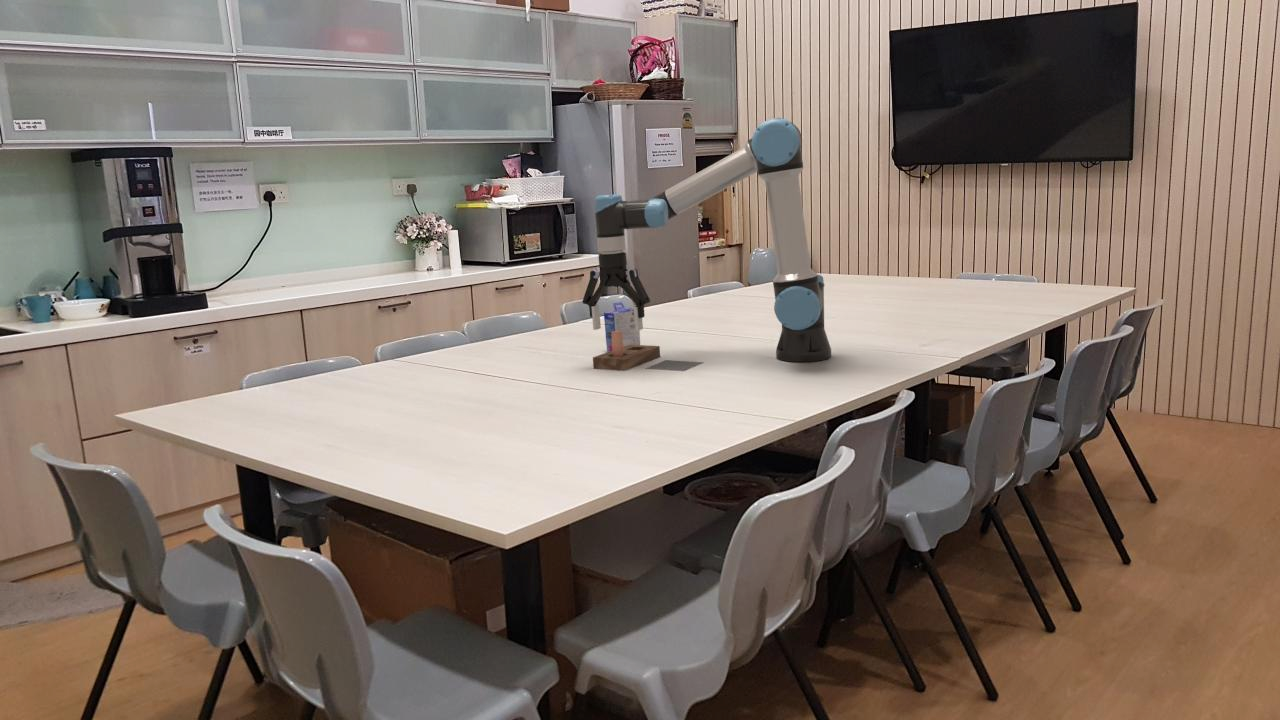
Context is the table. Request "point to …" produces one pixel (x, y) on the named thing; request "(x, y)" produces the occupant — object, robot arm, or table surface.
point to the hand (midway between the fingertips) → (617, 329)
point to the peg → (617, 343)
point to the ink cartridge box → (621, 326)
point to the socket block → (627, 357)
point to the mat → (674, 365)
